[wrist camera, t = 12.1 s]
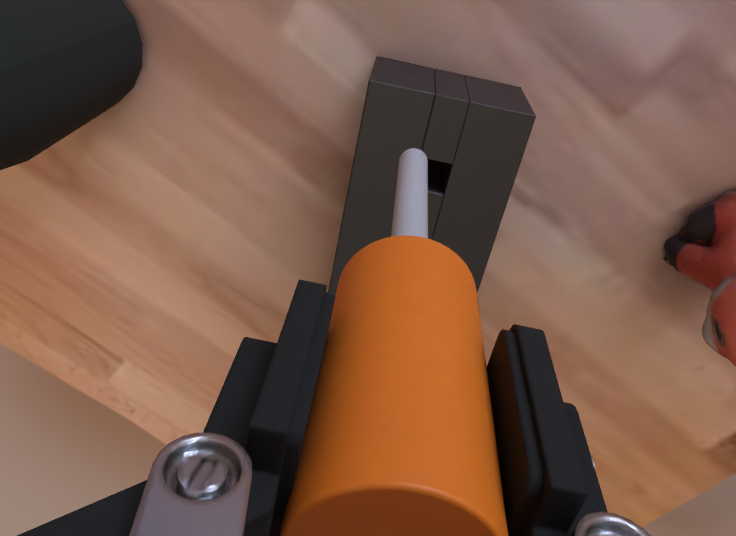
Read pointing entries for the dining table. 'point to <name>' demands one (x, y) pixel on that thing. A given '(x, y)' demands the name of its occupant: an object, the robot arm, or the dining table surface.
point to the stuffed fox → (711, 267)
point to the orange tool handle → (401, 394)
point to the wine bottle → (61, 69)
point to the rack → (435, 158)
